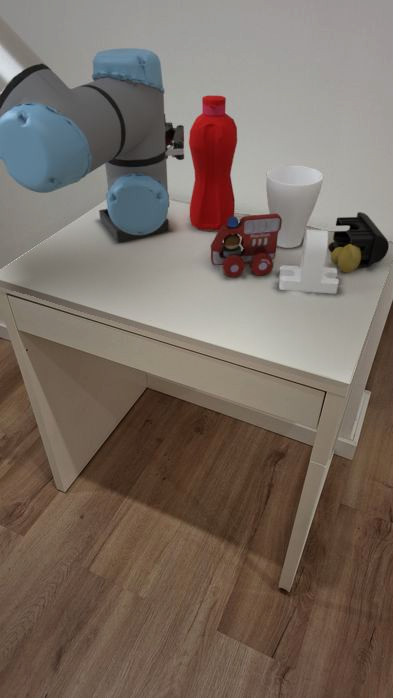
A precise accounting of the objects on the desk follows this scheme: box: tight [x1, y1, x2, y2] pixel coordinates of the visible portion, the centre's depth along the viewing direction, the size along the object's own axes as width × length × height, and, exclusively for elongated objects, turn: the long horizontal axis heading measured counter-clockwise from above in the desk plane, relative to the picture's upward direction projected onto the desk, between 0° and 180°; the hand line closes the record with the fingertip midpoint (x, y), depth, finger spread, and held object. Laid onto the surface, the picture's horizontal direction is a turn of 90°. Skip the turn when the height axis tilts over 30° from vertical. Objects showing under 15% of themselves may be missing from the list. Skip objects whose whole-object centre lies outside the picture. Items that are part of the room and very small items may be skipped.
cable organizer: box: [278, 229, 340, 295], centre depth 82 cm, size 5×10×10 cm, turn 82°
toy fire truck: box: [210, 213, 282, 278], centre depth 86 cm, size 7×12×10 cm, turn 96°
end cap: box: [332, 211, 390, 269], centre depth 90 cm, size 10×7×7 cm
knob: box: [330, 244, 361, 274], centre depth 88 cm, size 5×5×5 cm
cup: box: [265, 164, 324, 249], centre depth 93 cm, size 10×10×14 cm
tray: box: [98, 208, 170, 243], centre depth 103 cm, size 11×11×2 cm
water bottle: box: [188, 94, 238, 232], centre depth 97 cm, size 9×11×25 cm
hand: (141, 122), depth 87 cm, fingers closed on soda can, 7 cm apart
